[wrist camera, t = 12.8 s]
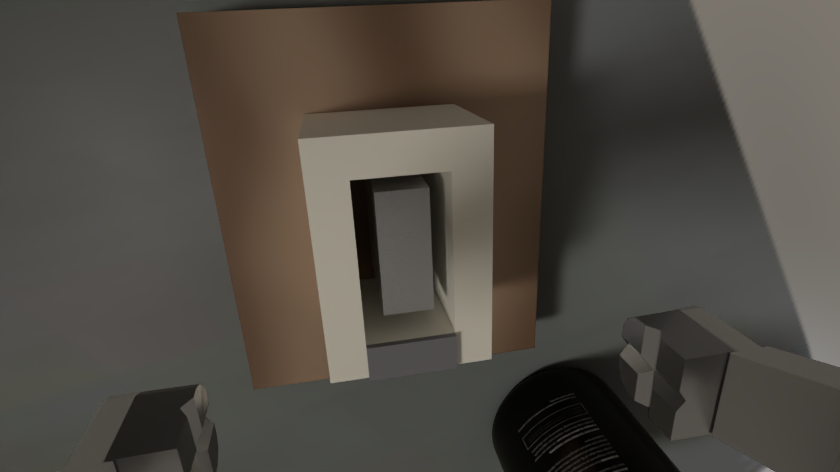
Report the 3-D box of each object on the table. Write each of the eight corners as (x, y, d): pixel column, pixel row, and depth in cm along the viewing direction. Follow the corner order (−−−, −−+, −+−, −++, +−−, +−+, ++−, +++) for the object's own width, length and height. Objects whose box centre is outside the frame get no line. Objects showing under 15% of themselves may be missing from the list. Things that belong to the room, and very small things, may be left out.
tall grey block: (372, 263, 19) (383, 315, 16) (363, 160, 18) (373, 192, 14) (413, 258, 20) (434, 308, 16) (407, 156, 18) (429, 187, 14)
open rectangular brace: (303, 114, 17) (297, 140, 13) (453, 103, 18) (496, 125, 13) (328, 311, 20) (330, 387, 15) (457, 294, 21) (493, 362, 16)
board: (259, 360, 22) (254, 389, 20) (192, 15, 17) (176, 12, 15) (518, 324, 24) (534, 347, 22) (529, 2, 19) (551, -2, 17)
